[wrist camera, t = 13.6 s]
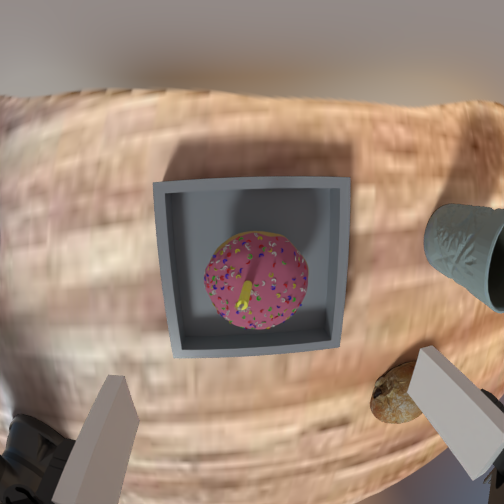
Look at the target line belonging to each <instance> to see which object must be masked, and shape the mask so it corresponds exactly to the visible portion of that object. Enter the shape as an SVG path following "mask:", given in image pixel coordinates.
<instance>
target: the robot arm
mask: <svg viewBox="0 0 504 504" xmlns="http://www.w3.org/2000/svg"><path fill="white" fill-rule="evenodd" d="M407 393H408V394H409V396H410V397H411V398H412V399H413V401H414V402H415V403H416V405H417V406H418V407H419V409H420V410H421V411H422V412H423V414H424V415H425V416H426V418H427V419H428V420H429V422H430V423H431V424H432V426H433V427H434V428H435V430H436V431H437V432H438V434H439V435H440V436H441V438H442V439H443V440H444V442H445V443H446V444H447V446H448V447H449V448H450V450H451V451H452V452H453V454H454V455H455V456H456V458H457V459H458V461H459V462H460V463H461V465H462V466H463V467H464V469H465V470H466V472H467V473H468V474H469V476H470V477H471V479H472V480H475V479H476V478H478V477H479V476H481V475H483V474H484V473H485V472H486V471H487V470H488V469H489V467H490V466H491V465H492V464H493V465H494V466H495V468H494V469H493V470H492V471H491V472H490V474H489V475H488V476H487V477H486V478H485V480H484V482H483V483H484V484H485V483H486V482H487V481H488V480H489V479H490V478H491V480H490V481H489V484H491V486H490V494H489V501H488V504H504V406H503V404H502V403H501V402H500V401H498V399H497V398H496V397H495V396H494V395H493V394H492V393H490V392H488V391H486V390H484V389H481V390H480V389H479V388H477V387H476V386H475V385H474V384H473V383H472V382H471V381H470V380H469V379H468V378H467V377H466V376H465V375H464V374H463V373H462V372H461V371H460V370H459V369H457V368H456V367H455V366H454V365H453V364H452V363H451V362H450V361H449V360H448V359H447V358H446V357H444V356H443V355H442V354H441V353H440V352H439V351H438V350H437V349H436V348H435V347H433V346H432V345H431V346H428V347H424V348H420V351H419V355H418V359H417V362H416V365H415V369H414V372H413V375H412V379H411V382H410V385H409V388H408V391H407ZM139 421H140V420H139V417H138V415H137V412H136V409H135V406H134V403H133V401H132V398H131V395H130V392H129V389H128V386H127V383H126V379H125V376H118V375H108V376H107V378H106V380H105V382H104V384H103V386H102V388H101V390H100V392H99V394H98V396H97V398H96V400H95V402H94V404H93V406H92V408H91V410H90V412H89V414H88V417H87V419H86V421H85V423H84V425H83V427H82V429H81V431H80V434H79V436H78V438H77V440H71V439H67V438H66V439H64V438H63V437H62V436H61V435H60V434H58V433H57V432H56V431H55V430H53V429H52V428H50V427H49V426H47V425H46V424H44V423H42V422H41V421H39V420H37V419H35V418H32V417H30V416H27V415H17V416H15V418H14V419H13V421H12V422H11V424H10V427H9V431H10V432H9V435H8V438H7V443H6V449H5V451H4V453H3V454H2V456H1V455H0V504H118V502H119V498H120V493H121V489H122V485H123V481H124V477H125V473H126V469H127V465H128V461H129V457H130V454H131V450H132V446H133V443H134V439H135V435H136V432H137V428H138V425H139Z"/></svg>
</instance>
